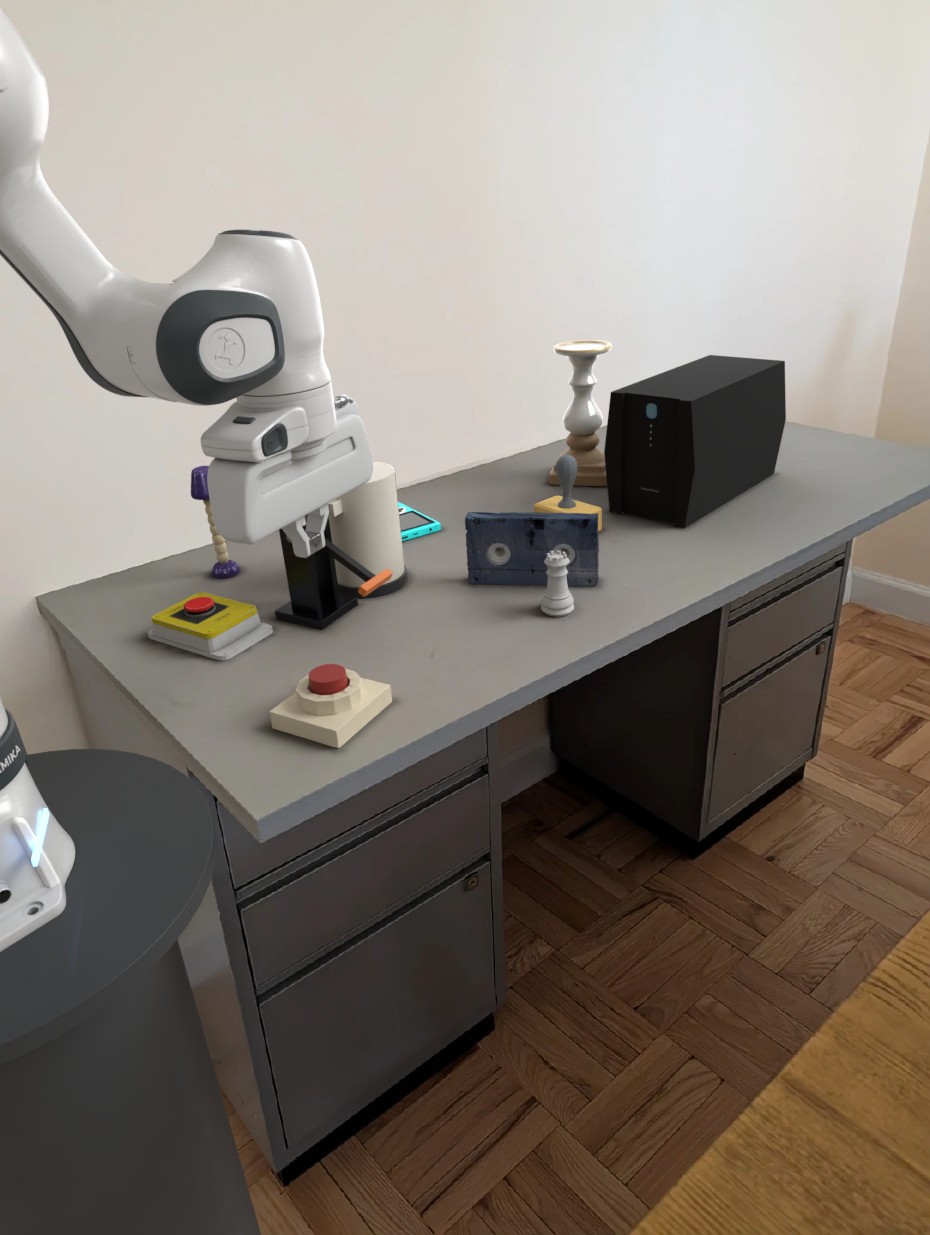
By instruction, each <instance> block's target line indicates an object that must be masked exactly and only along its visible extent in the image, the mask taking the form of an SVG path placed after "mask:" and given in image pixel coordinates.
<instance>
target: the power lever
mask: <svg viewBox="0 0 930 1235" xmlns="http://www.w3.org/2000/svg"><path fill="white" fill-rule="evenodd" d="M307 517H308V516H306V515H305V522H306V523H307ZM324 538H325V537H324ZM322 550H324V551H325V552H326V553H328V554H329V555H330V556H332V557H333V558H334V559H336V560H337V561H338V562H340V563H341V564H342V565H344V566H345V567H346V568H348V569H349V570H350V571H352V572H353V573H354V574H356V575H357V576H358V577H360V578H361V579H362V580H364V581H365V582H366V583H364V584H363V585H361V586H360V588H359V590H358V593H359V594H361V595H362V596H363V597H365V596H366V595H368V594H369V593H371V592H372V591H374V590H375V589H377V588H378V587H379V586H381V585H382V584H384V583H385V582H387V581H388V580H390V579H391V577H392V574H393V573H392V572H391V571H390V570H388V569H385V570H384V571H382V572H381V573H379V574H378V575H374V574H373V573H372V572H370V571H369V570H368V569H366V568H365V567H364V566H362V565H361V564H360V563H358V562H357V561H355V560H354V559H353V558H351V557H350V556H349V555H347V554H346V553H345V552H343V551H342V550H341V549H339V548H338V547H337V546H335V545H334V544H333V543H331V542H330V541H329V540H327V539H326V538H325V547H323V548H322Z"/></svg>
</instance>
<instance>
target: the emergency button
mask: <svg viewBox="0 0 930 1235" xmlns="http://www.w3.org/2000/svg"><path fill="white" fill-rule="evenodd" d="M151 623H152V628H151V629H149V630H148V631H147V638H148V639H150V640H152V641H156V642H159V643H162V644H165V645H168V646H171V647H174V648H178V649H180V650H184V651H187V652H191V653H194V654H197V655H199V656H204V657H206V658H209V659H213V660H216V661H220V662H221V661H222V662H225V661H228V660H230V659H232V658H234V657H236V656H237V655H239V654H241V653H242V652H244V651H246V650H248V649H249V648H251V647H253V646H254V645H256V644H258V643H259V642H260V641H262V640H264V639H266V638H267V637H269V636H271V635H272V634H273V633H274V630H273V625H271V624H268V623H265V622H261V618H260V615H259V612H258V608H257V606H256V605H254V604H250V603H246V602H242V601H239V600H235V599H231V598H228V597H223V596H220V595H217V594H212V593H208V592H205V591H199V592H197V593H194V594H191V595H190V596H189V597H186V598H184V599H183V600H181V601H179V602H177V603H174V604H172V605H171V606H168V607H166V608H165V609H163V610H161V611H159V612H157V613H155V614H153V615H152V616H151Z"/></svg>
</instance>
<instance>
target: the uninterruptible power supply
mask: <svg viewBox="0 0 930 1235" xmlns="http://www.w3.org/2000/svg"><path fill="white" fill-rule="evenodd" d="M609 395H610V396H609V404H608V413H607V414H608V415H607V422H606V433H605V441H604V451H603V452H604V456H605V467H606V478H607V486H606V487H607V489H606V490H607V498H608V510H609V512H610V513H614V514H618V515H623V514H626V515H630V516H636V517H641V518H644V519H648V520H649V519H650V520H654V521H657V522H663V523H667V524H668V523H669V524H672V525H673V526H674V527H677V528H682V529H686V528H688V527H689V526H690V525H692V524H694V523H696V522H697V521H699V520H700V519H702V518H704V517H705V516H707V515H709V514H710V513H712V512H714V511H715V510H717V509H719V508H721V507H722V506H724V505H725V504H727V503H728V502H730V501H731V500H733V499H735V498H737V497H739V495H741V494H743V493H745V492H747V491H748V490H750V489H751V488H753V487H754V486H756V485H758V484H760V483H762V482H763V481H764V480H766V479H767V478H769V477H771V476H772V475H774V474H775V471H776V466H777V462H778V457H779V453H780V449H781V444H782V438H783V435H784V430H785V426H786V421H787V410H786V406H787V405H786V361H785V360H777V359H765V358H754V357H740V356H728V355H715V354H709V355H706V356H704V357H701V358H698V359H695V360H692V361H690V362H687V363H685V364H682V365H679V366H676V367H674V368H671V369H668V370H666V371H663V372H660V373H657V374H655V375H652V376H650V377H647V378H644V379H641V380H638V381H636V382H634V383H631V384H629V385H626V386H623V387H620V388H618V389H614V390H612V391H611V392H610V394H609Z"/></svg>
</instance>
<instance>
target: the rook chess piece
mask: <svg viewBox="0 0 930 1235" xmlns="http://www.w3.org/2000/svg"><path fill="white" fill-rule="evenodd" d="M569 562H570V561H569V559H568V558H567V554H566V553H565V552H562V554H561V551H557V554H554V551H551V552H550V553H547V558H546V559H545V561H544V563H545V564H546V565H547V567H548V570H547V571H546V573H547V575H548V582H547V585H546V590H545V591H544V593H543V596H542V598H541V601H540V602H541V606H540V609H541V611H542V612H543V613H544V614H545V615H547V616H549V617H556V618H558V617H559V618H560V617H565V616H568V615H570V614H571V613H572V612H573V611H574V610H575V604H574V602H575V598H574V596H573V595H572V593H571V590H569V586H568V585H567V573H568V571H567V569H566V566H567V565H568V563H569Z"/></svg>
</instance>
